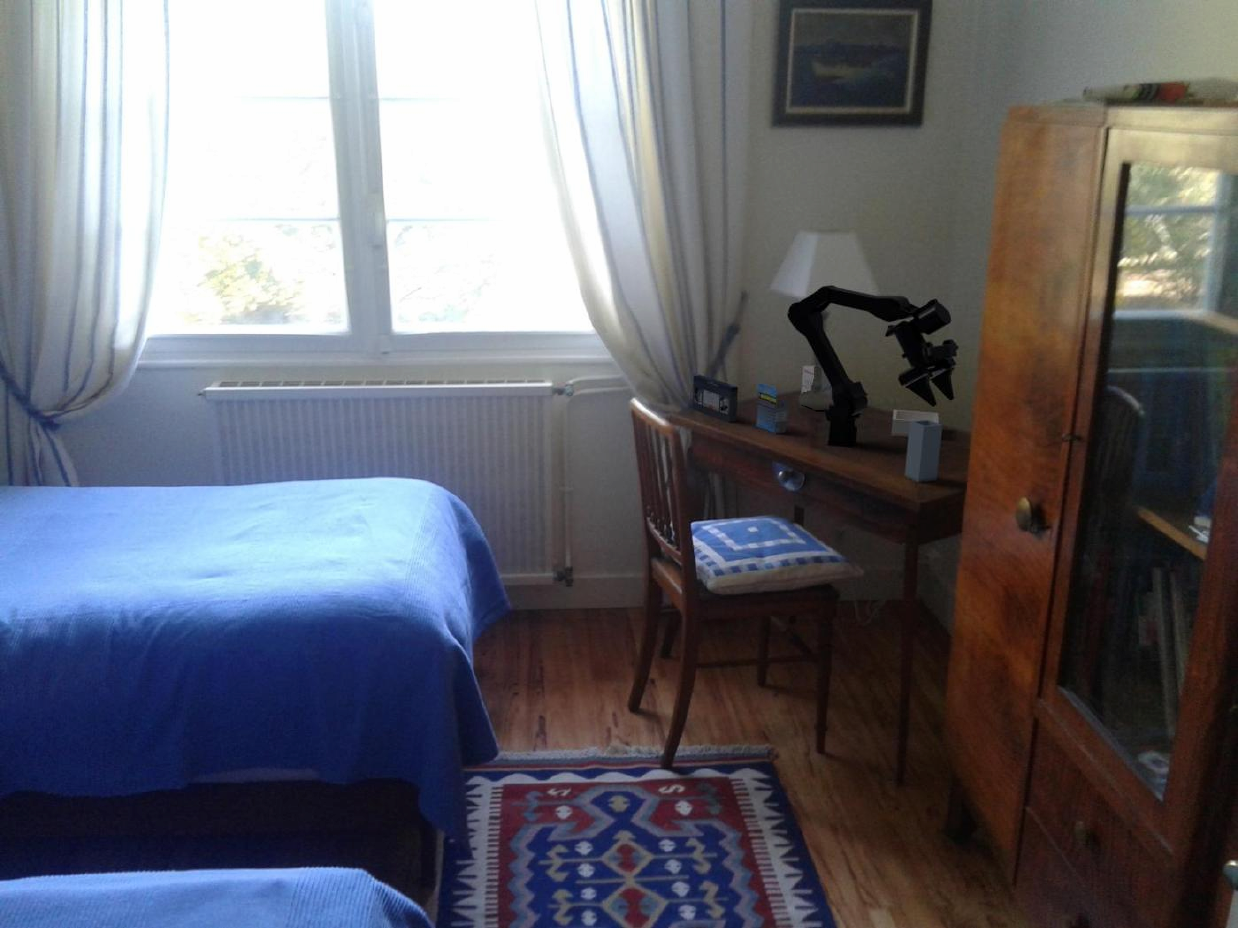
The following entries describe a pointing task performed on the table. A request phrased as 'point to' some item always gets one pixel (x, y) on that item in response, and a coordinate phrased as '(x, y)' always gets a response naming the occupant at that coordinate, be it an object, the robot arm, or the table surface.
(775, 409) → the label tape box
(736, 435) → the table surface
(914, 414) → the cream crate
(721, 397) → the vhs cassette tape
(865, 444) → the table surface
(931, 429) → the grey hollow square tube
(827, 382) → the ink box
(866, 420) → the table surface
